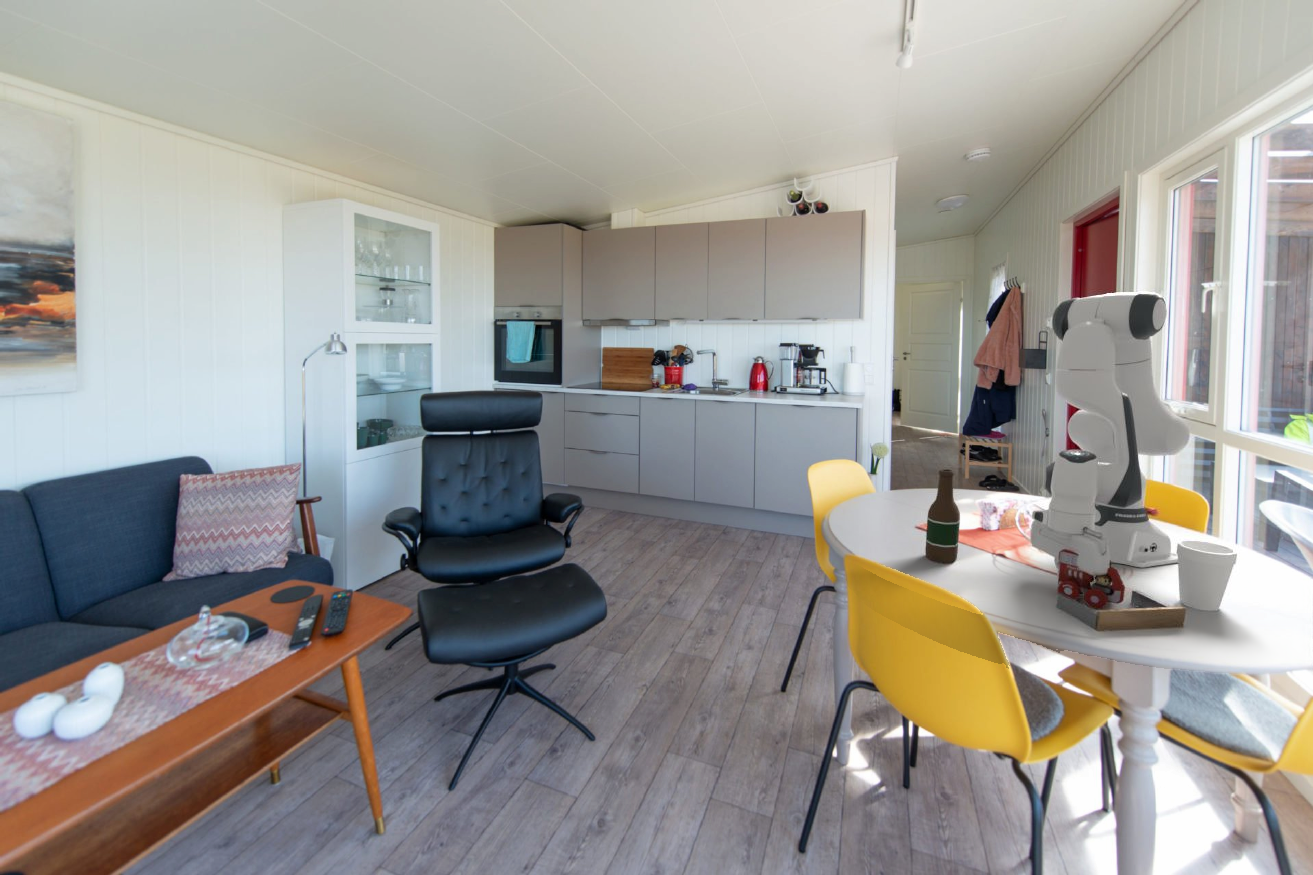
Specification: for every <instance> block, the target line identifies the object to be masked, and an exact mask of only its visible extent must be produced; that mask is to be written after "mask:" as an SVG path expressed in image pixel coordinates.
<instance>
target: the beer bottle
mask: <svg viewBox="0 0 1313 875" xmlns="http://www.w3.org/2000/svg"><path fill="white" fill-rule="evenodd" d="M938 475H939V478H938V485H937V494H936V497H935V500H934V501H933V502H932V504H930V506H929V509H928V511H927V518H926V534H925V536H926V537H925V538H926V539H925V550H924V551H925V558H927V559H928V560H929V561H931V562H935V563H939V564H953V563H955V562H956V560H957V559H958V552H959V538H960V537H959V536H960V523H961V515H960V514H961V513H960V509H959V507H958V505H957V504H956V502H955V500H954V476H955V471H954V470H952V469H947V468H944V469H943V468H942V469H940V470H939V472H938Z"/></svg>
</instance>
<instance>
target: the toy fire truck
mask: <svg viewBox="0 0 1313 875" xmlns="http://www.w3.org/2000/svg"><path fill="white" fill-rule="evenodd" d="M1078 556H1079V555H1078V554H1077V553H1075V552H1073V551H1071V550H1067V549H1063V550H1061V551H1060V552H1059V561H1060V570H1059V577H1058V576H1057V577H1058V580H1057V585H1058V587H1057V592H1058V593H1063V594H1065V595H1067V596H1068V597H1070V598H1072V599H1074V600H1077V599H1078V598H1079V597H1080V596H1081V595H1084V596H1083V597H1084V598H1083V599H1084V602H1085V604H1087V605H1088V607H1090V608H1093V609H1095V610H1096V609H1097V610H1101V609H1102V608H1105V607H1106V606H1107V605H1108V603H1113V604H1121V603H1122V602H1123V601H1124V598H1125V592H1126V587H1125V585H1124V583H1123V580H1122V577H1121V575H1120V573H1119V571H1118V569H1117V568H1115V567H1112V562H1111V561H1110V563H1109V566H1110V568H1108V570H1107V573H1106V574H1105V575H1090V574H1088V573H1086V572H1084V571H1082V570H1080V569H1079V568H1078V565H1077V557H1078ZM1094 581H1095V582H1094ZM1091 584H1092V585H1091Z"/></svg>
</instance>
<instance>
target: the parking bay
mask: <svg viewBox="0 0 1313 875" xmlns="http://www.w3.org/2000/svg"><path fill="white" fill-rule="evenodd" d="M1130 604H1131V605H1133V604H1134V606H1135V607H1137V606H1138V608H1119V609H1118V608H1117V609H1097V610H1094V609H1092V608H1091V607H1089V606H1086V605H1084V604H1082V603H1081V602H1079V601H1078V600H1077V599H1075V600H1074V599H1072V598H1070V597H1068V596H1067V595H1065V594H1063V593H1059V592H1058V593H1057V599H1056V608H1058V609H1060V610H1061V611H1063V612H1065V613H1067V614H1068V615H1070V616H1072V617H1074V618H1075V619H1077V620H1079V621H1080V622H1082V623H1083V624H1085V625H1087V626H1089V627H1090V628H1093V629H1094V630H1096V631H1098V632H1104V631H1105V630H1106V631H1107V630H1109V631H1126V630H1127V631H1128V630H1129V631H1130V629H1131V630H1150V629H1151V630H1152V629H1169V628H1173V629H1174V628H1184V626H1185V618H1186V611H1187V608H1186V607H1184V606H1182V605H1181V606H1171V605H1169V604H1167V603H1165V602H1163V601H1161V600H1159V599H1157V598H1155V597H1152V596H1151V595H1148V594H1146V593H1144V592H1141V591H1139V590H1137V589H1132V590H1131V598H1130ZM1106 631H1105V632H1106Z"/></svg>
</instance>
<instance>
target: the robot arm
mask: <svg viewBox="0 0 1313 875" xmlns="http://www.w3.org/2000/svg"><path fill="white" fill-rule="evenodd" d="M1167 314H1168V313H1167V305H1166V301H1165V300H1164V298H1163V297H1162V296H1161V295H1160V294H1159V293H1157V292H1150V291H1138V292H1114V293H1112V292H1111V293H1106V294H1098V295H1092V296H1087V297H1081V298H1080V297H1074V298H1069V299H1066V300H1064V301H1061V302H1060V303H1059V305H1058V306H1057V307H1056V308H1055V310H1054V312H1053V314H1052V319H1051V320H1052V322H1051V326H1052V331H1053V333H1054V334H1055V336H1056V337H1057V338H1058V339H1059V340H1061V341H1062V342H1061V344H1060V349H1059V352H1058V357H1057V365H1056V374H1055V375H1056V376H1055V385H1056V392H1057V394H1058V395H1059V397H1060V398H1061V399H1062V400H1063V401H1064V402H1065V403H1067V404H1069V405H1070V406H1073V407H1075V408H1076V409H1079V410H1077V411H1076V412H1075V413H1073V415H1072V416H1071V417H1070V419H1069V421H1068V423H1067V433H1068V436H1069V438H1070V440H1071V441H1072V442H1073V443H1074V444H1075V445H1077V446H1078V447H1079V448H1080V449H1064V450H1063V451H1060V452H1058V453H1057V455H1056V458H1055V461H1053V462H1052V463H1050V464H1049V465H1048V466H1047V467H1046V468H1045V472H1046V474H1045V484H1044V485H1045V486H1044V490H1045V491H1046V492H1047V493H1048V494H1049V495H1050V496H1051V499H1050V502H1049V503H1048V509H1041V510H1040V509H1039V510H1033V511H1032V514H1031V518H1032V520H1033V521H1032V523H1031V526H1030V527H1031V528H1030V538H1029V539H1030V544H1031V546H1032V548H1035V549H1037V550H1039V551H1041V552H1043V553H1045V554H1048V555H1049V556H1052V557H1053V558H1054V560H1053V561H1054V564H1055V567H1056V569H1057V573H1056V575H1057V576H1056V577H1059V570H1060V561H1059V552H1060V551H1061V550H1063V549H1067V550H1071V551H1073V552H1075V553H1077V554H1078V555H1079V556H1078V557H1077V565H1078V568H1079V569H1080V570H1082V571H1084V572H1086V573H1088V574H1090V575H1094V576H1095V575H1105V574H1106V573H1107V570H1108V568H1110V567H1111V566H1109V563H1110V561H1111V563H1114V564H1123V565H1127V566H1130V567H1135V568H1147V567H1148V568H1149V567H1154V566H1155V567H1156V566H1162V565H1169V564H1178V554H1177V553H1175V552H1173V551H1172V542H1171V538H1170V537H1169V535H1168V534H1167V533H1166V532H1164V531H1163V530H1162V529H1161V528H1159V527H1158V526H1156V525H1155V524H1154V523H1153V522H1151V521H1150V517H1149V516H1151V517H1158V515H1159V514H1160V511H1159V509H1158V508H1153V507H1146V506H1145V500H1146V499H1145V498H1146V490H1147V489H1146V488H1147V478H1146V476H1145V474H1144V473H1143V472H1142V470H1141V468H1140V458H1139V455H1142V456H1148V457H1150V456H1151V457H1154V456H1155V457H1160V456H1162V457H1163V456H1175V455H1177V454H1179V453H1181V451H1182V450H1184V448H1186V446H1187V445H1188V443H1189V440H1190V428H1189V426H1188V424H1187V422H1186V421H1185V419H1183V418H1182V417H1181V416H1179V415H1177V414H1176V413H1174V412H1173V411H1171V410H1170V409H1169V408H1168V407H1167V406H1166V405H1165V404H1164V402H1163V401H1162V400H1161V398H1160V396H1159V395H1158V393H1157V390H1156V388H1155V384H1154V378H1153V362H1152V361H1153V358H1152V357H1153V353H1152V351H1153V350H1152V341H1151V337H1153V336H1155V335H1157V333H1159V332H1160V331H1162V328H1164V326H1165V322H1166V318H1167Z"/></svg>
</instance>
